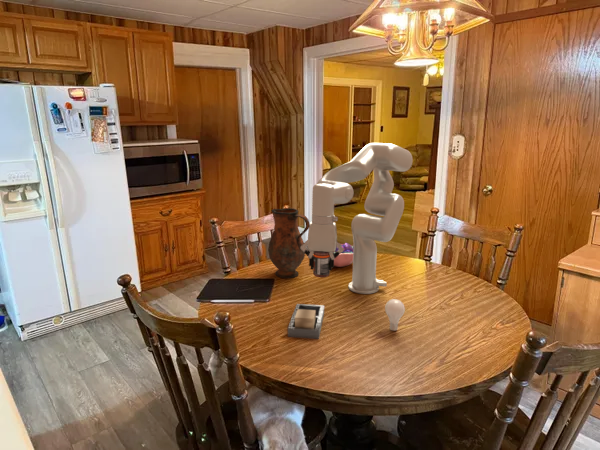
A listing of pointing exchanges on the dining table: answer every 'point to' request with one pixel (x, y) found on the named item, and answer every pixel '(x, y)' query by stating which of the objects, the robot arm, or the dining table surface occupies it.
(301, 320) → the birch block
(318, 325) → the tray
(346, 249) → the cell model
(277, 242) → the pitcher
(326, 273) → the supplement bottle
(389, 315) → the lightbulb
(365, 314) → the dining table surface
